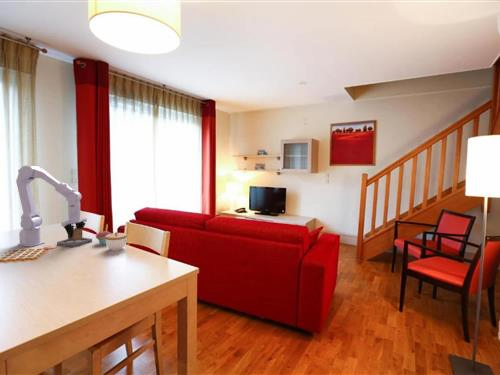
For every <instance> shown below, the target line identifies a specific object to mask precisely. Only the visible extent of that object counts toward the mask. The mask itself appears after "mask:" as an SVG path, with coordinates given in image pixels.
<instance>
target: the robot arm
mask: <svg viewBox="0 0 500 375" xmlns="http://www.w3.org/2000/svg"><path fill="white" fill-rule="evenodd" d="M17 172H18V175H17V177H16V182H15V184H16V187H17V191H18V195H19V196H18V197H19V199H20V204H21V209H22V215H21V216H20V219H21V220H20V227H21V230H20V231H19V233H18V237H19V243H17V245H18V246H21V247H22V246H25V247H29V248H30V247H34V246H39V245H42V244H45V241H41V240H42V238H41V225H42V224H43V218H42V217H41V215H40V212H38V211H37V210H36V204H35V202H34V197H33V191H32V188H31V183H32V181H34V180H35V179H41V180H43V181H44V182H46V183H48V184H49V185H51V187H54V190H55V191H56V192H57V193H58V194H60V195H61V196H62V197H64V198H65V199H66V201H67V203H68V205H67V206H68V208H67V210H68V215H67V216H68V220H66V221H63V222H61V223H60V224H61V227H63V228H64V229H65V232H66V234H67V238H68V237H72V236H73V228H80V229H82V231H83V229H84V227H85V226H86V222H87V221H88V219H87V217H81V200H82V198H83V197H82V196H83V195H82V194H81V193H80V191H77V190H76V189H73V188H71V187H70V186H69V184H68V183H67V182H66V183H64V182H60V181H58V180H57V179H56V178H54V176H52V175H51V174H50V173H48V172H47V171H46V170H45V169H44V168H42V167H41V166H39V165H24V166H21V167H20V168H19V169H18V170H17Z"/></svg>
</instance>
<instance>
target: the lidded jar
mask: <svg viewBox="0 0 500 375" xmlns="http://www.w3.org/2000/svg"><path fill="white" fill-rule="evenodd" d="M111 233H112V232H111ZM105 241H106V244H105V246H106V247H107V248H108V250H110V251H111V252H117V251H122V250H123V248H124V247H125V246H126V245H127V241H128V234H127V233H124V232H118V231H115V232H113V233H112V234H108V235H106V236H105Z"/></svg>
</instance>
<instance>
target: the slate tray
mask: <svg viewBox="0 0 500 375" xmlns="http://www.w3.org/2000/svg"><path fill="white" fill-rule="evenodd" d="M92 242H93V238H89V237H88V238H87V237H83V236H82V239H80V240H77V241H70V240H68V238H66V239H61V240H59V241H56V246H61V247H68V248H77V247H79V246H82V245H85V244H89V243H92Z"/></svg>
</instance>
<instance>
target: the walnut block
mask: <svg viewBox="0 0 500 375" xmlns="http://www.w3.org/2000/svg"><path fill="white" fill-rule="evenodd" d="M82 237H83V230H82V229H80V228H76V227H74V228H73V236H72V237H68V236H67V239H68V240H70V241H77V240H80V239H82Z"/></svg>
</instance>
